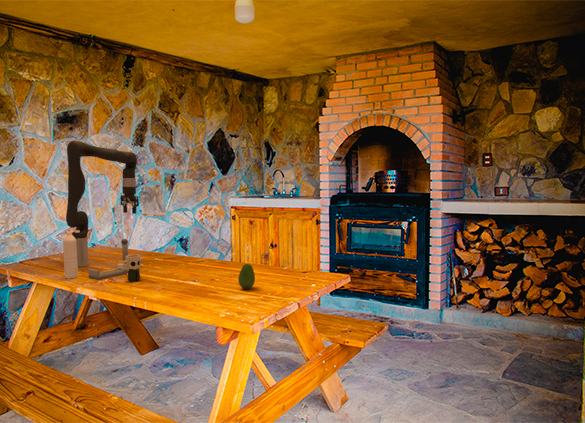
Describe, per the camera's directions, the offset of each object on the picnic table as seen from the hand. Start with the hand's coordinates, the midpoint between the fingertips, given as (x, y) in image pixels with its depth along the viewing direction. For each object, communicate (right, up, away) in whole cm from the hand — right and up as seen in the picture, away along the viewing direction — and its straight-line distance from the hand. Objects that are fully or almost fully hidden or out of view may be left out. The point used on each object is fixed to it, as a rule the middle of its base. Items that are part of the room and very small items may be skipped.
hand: (129, 213), depth 253 cm
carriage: (+2, -31, -12) cm, 33 cm away
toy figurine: (+14, -35, -32) cm, 49 cm away
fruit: (+75, -36, -51) cm, 98 cm away
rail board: (-1, -34, -18) cm, 38 cm away
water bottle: (-22, -35, -22) cm, 47 cm away
